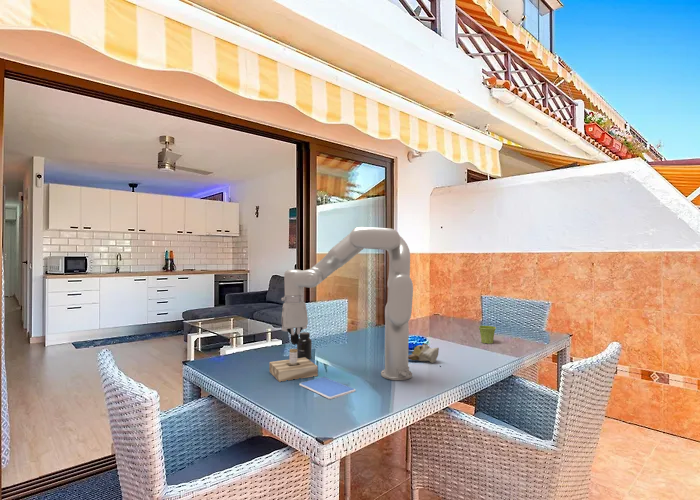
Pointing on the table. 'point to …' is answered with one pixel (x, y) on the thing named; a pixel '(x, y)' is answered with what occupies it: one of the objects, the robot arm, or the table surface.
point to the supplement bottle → (304, 346)
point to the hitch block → (293, 369)
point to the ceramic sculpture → (424, 353)
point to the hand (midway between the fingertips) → (294, 343)
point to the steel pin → (293, 357)
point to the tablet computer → (327, 387)
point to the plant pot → (487, 334)
